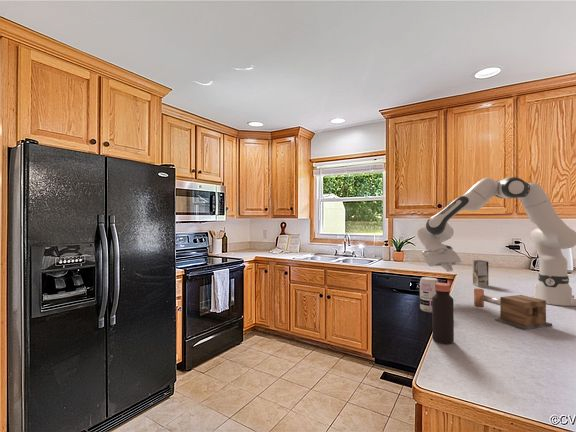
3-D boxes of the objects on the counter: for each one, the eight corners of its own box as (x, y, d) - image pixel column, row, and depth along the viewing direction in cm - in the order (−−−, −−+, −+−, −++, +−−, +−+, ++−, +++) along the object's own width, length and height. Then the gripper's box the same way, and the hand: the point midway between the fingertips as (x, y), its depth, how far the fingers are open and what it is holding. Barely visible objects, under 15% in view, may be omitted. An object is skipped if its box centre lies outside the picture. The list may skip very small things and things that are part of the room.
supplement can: (437, 308, 151) (437, 277, 151) (440, 313, 143) (439, 280, 143) (419, 307, 153) (419, 276, 154) (420, 312, 146) (420, 279, 146)
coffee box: (489, 287, 198) (488, 261, 198) (477, 287, 199) (477, 261, 199) (483, 284, 207) (483, 259, 207) (472, 284, 208) (472, 259, 208)
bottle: (450, 346, 106) (450, 287, 107) (429, 341, 111) (429, 284, 111) (456, 340, 111) (455, 283, 112) (435, 335, 116) (435, 281, 116)
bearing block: (522, 316, 138) (521, 294, 138) (552, 325, 127) (552, 300, 127) (494, 320, 133) (494, 296, 133) (523, 329, 122) (523, 304, 122)
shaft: (478, 304, 152) (478, 288, 152) (519, 316, 134) (518, 297, 134) (472, 305, 151) (472, 288, 151) (512, 317, 132) (511, 298, 132)
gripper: (424, 247, 170) (437, 268, 161) (454, 246, 176) (468, 266, 167) (418, 254, 174) (431, 275, 165) (447, 253, 180) (462, 273, 171)
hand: (450, 270), depth 166 cm, fingers closed
